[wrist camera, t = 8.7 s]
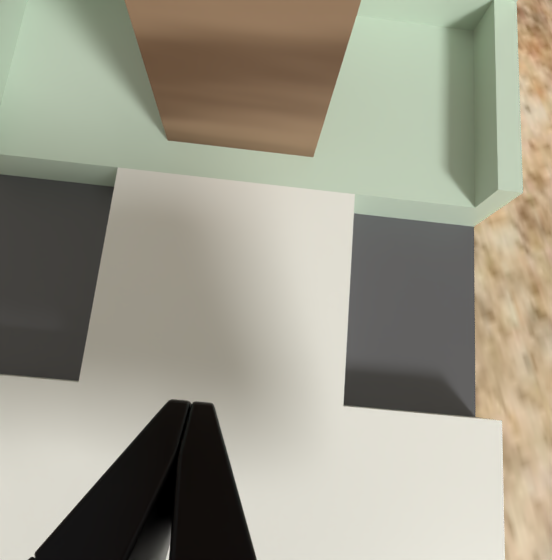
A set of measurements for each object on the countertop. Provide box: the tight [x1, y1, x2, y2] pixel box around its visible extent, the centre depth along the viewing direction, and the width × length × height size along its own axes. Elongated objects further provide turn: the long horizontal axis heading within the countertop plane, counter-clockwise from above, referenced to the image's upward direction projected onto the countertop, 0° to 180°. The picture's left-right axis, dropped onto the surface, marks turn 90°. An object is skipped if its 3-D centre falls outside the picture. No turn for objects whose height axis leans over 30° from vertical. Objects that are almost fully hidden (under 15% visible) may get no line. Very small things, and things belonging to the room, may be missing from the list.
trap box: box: [0, 0, 523, 560], centre depth 14 cm, size 22×18×5 cm
